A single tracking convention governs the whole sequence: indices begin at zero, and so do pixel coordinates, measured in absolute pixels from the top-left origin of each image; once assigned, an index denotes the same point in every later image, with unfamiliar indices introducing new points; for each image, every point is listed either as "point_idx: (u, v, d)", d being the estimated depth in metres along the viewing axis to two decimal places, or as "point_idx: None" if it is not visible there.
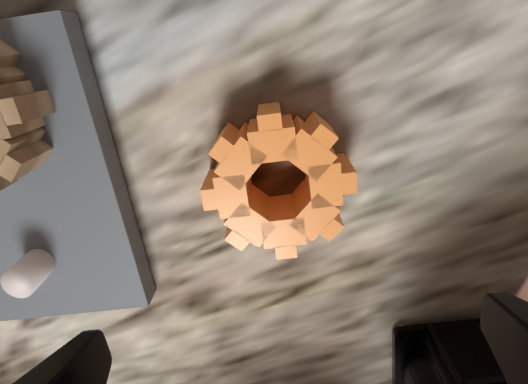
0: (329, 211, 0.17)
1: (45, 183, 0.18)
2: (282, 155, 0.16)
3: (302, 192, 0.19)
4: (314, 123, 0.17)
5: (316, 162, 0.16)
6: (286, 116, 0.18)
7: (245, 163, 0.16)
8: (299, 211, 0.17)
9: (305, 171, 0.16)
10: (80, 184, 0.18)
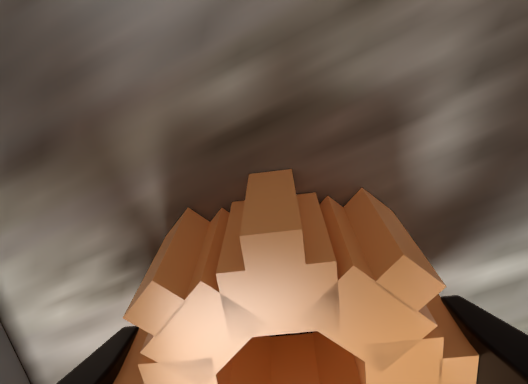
0: None
1: None
2: (303, 321, 0.07)
3: (337, 351, 0.09)
4: (377, 235, 0.07)
5: (385, 335, 0.07)
6: (307, 202, 0.09)
7: (215, 336, 0.07)
8: None
9: (357, 353, 0.07)
10: None
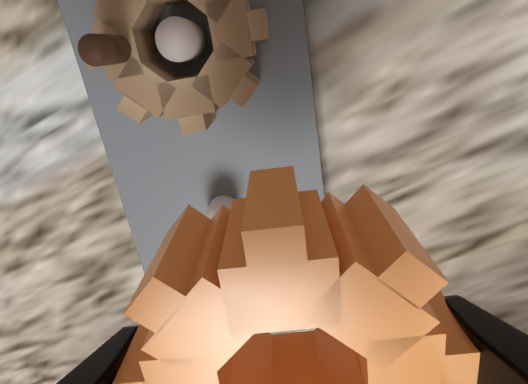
0: None
1: (244, 121, 0.17)
2: (305, 318, 0.07)
3: (338, 349, 0.09)
4: (379, 232, 0.07)
5: (387, 332, 0.07)
6: (308, 199, 0.08)
7: (216, 333, 0.07)
8: None
9: (359, 349, 0.07)
10: (282, 121, 0.17)
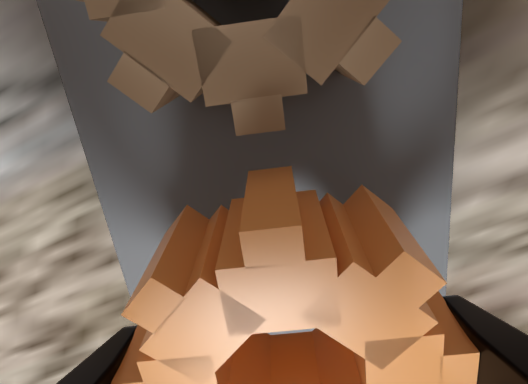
0: None
1: (332, 113, 0.10)
2: (303, 318, 0.07)
3: (337, 349, 0.09)
4: (377, 232, 0.07)
5: (385, 332, 0.07)
6: (307, 199, 0.08)
7: (214, 333, 0.07)
8: None
9: (357, 350, 0.07)
10: (397, 116, 0.10)
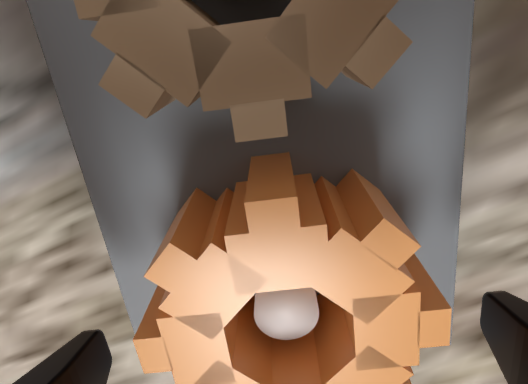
0: (390, 375, 0.09)
1: (336, 117, 0.09)
2: (299, 278, 0.08)
3: (331, 315, 0.10)
4: (363, 206, 0.08)
5: (369, 291, 0.08)
6: (303, 181, 0.10)
7: (223, 293, 0.08)
8: (330, 372, 0.09)
9: (346, 307, 0.08)
10: (405, 120, 0.09)
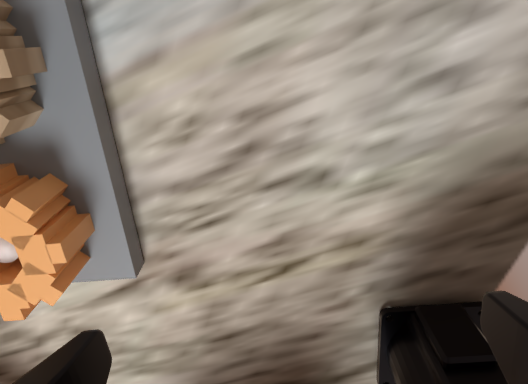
0: (44, 278, 0.17)
1: (34, 146, 0.18)
2: None
3: None
4: None
5: (17, 233, 0.16)
6: (17, 179, 0.18)
7: None
8: (16, 277, 0.17)
9: (9, 241, 0.16)
10: (71, 149, 0.18)
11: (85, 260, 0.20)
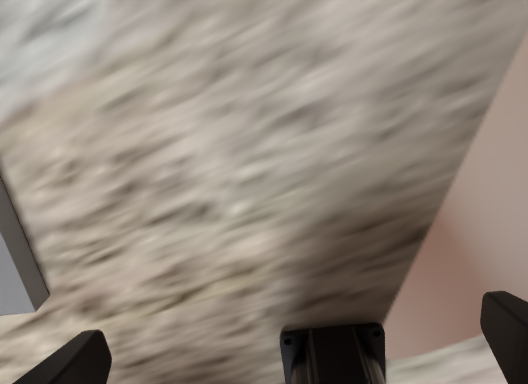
0: None
1: None
2: None
3: None
4: None
5: None
6: None
7: None
8: None
9: None
10: None
11: None
